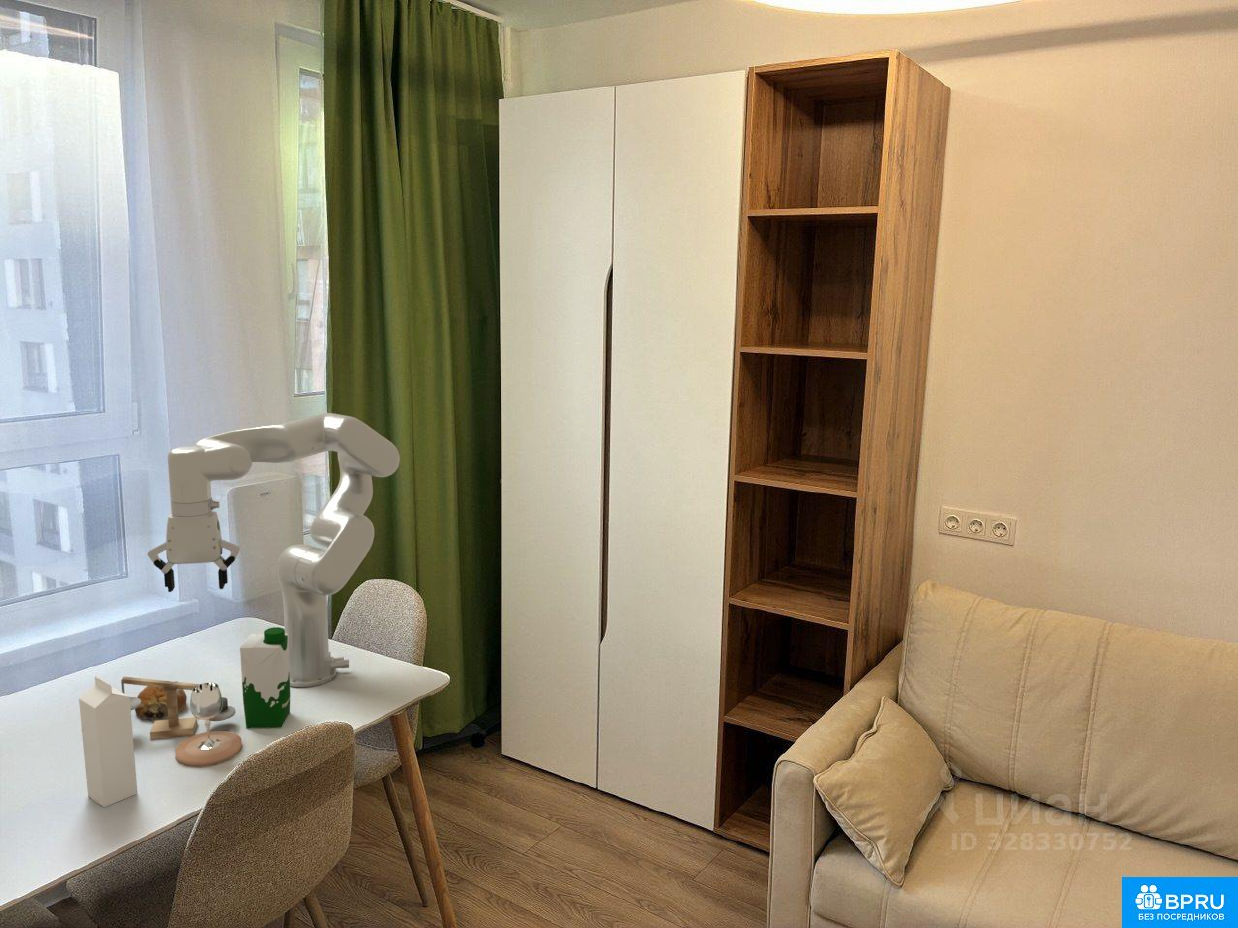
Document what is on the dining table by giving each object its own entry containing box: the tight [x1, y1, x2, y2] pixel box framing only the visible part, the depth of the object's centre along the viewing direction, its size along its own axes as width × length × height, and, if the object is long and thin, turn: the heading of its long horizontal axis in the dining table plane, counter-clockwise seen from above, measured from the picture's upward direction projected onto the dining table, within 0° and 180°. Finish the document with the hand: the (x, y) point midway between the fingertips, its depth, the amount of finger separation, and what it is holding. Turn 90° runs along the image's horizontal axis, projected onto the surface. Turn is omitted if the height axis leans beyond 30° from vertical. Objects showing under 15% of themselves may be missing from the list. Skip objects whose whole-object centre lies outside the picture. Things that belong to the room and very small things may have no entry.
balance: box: [120, 676, 236, 740], centre depth 190 cm, size 24×6×12 cm, turn 105°
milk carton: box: [239, 626, 291, 729], centre depth 195 cm, size 9×9×20 cm
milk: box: [78, 676, 138, 808], centre depth 166 cm, size 6×6×22 cm
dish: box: [174, 730, 243, 768], centre depth 184 cm, size 12×12×1 cm
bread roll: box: [134, 686, 188, 720], centre depth 200 cm, size 10×10×8 cm
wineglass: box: [189, 682, 223, 750], centre depth 183 cm, size 6×6×12 cm
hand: (197, 588), depth 193 cm, fingers open, 9 cm apart
